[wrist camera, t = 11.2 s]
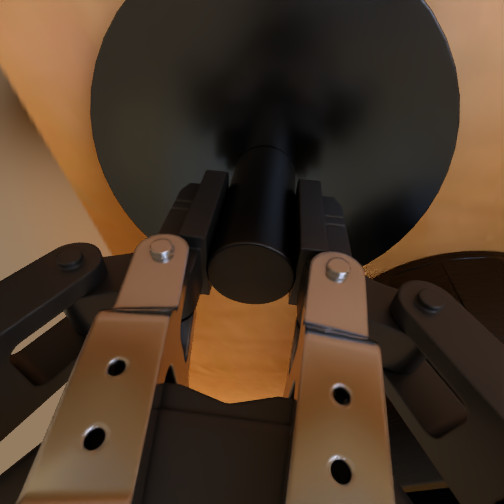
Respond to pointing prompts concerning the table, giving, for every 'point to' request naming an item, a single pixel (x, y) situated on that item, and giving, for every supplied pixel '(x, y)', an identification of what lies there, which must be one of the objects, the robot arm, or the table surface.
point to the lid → (276, 121)
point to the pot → (485, 311)
